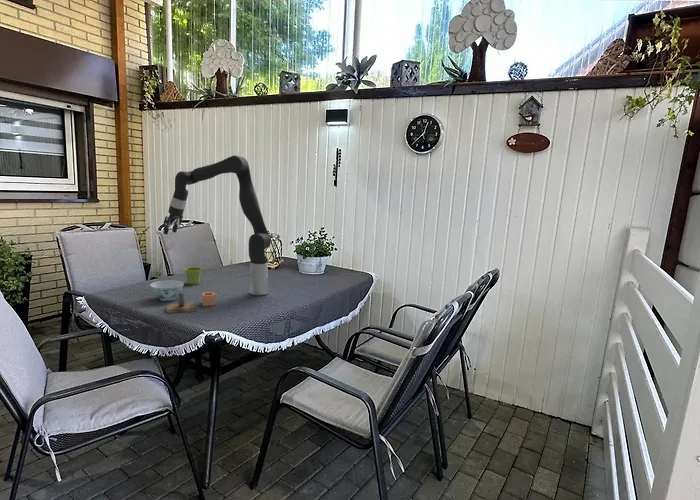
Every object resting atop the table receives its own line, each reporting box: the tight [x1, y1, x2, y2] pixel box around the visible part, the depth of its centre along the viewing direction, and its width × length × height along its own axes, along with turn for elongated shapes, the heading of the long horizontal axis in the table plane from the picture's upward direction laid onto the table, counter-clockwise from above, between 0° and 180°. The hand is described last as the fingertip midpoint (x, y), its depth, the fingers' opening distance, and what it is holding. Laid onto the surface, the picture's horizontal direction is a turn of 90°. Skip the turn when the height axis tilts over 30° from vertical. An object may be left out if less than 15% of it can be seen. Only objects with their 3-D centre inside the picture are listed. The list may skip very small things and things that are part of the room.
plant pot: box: [184, 266, 203, 285], centre depth 222 cm, size 9×9×9 cm
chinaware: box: [149, 279, 184, 302], centre depth 191 cm, size 15×15×8 cm
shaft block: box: [166, 292, 197, 314], centre depth 177 cm, size 12×8×8 cm, turn 112°
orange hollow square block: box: [201, 291, 216, 307], centre depth 187 cm, size 6×6×5 cm
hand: (169, 233), depth 216 cm, fingers open, 8 cm apart
